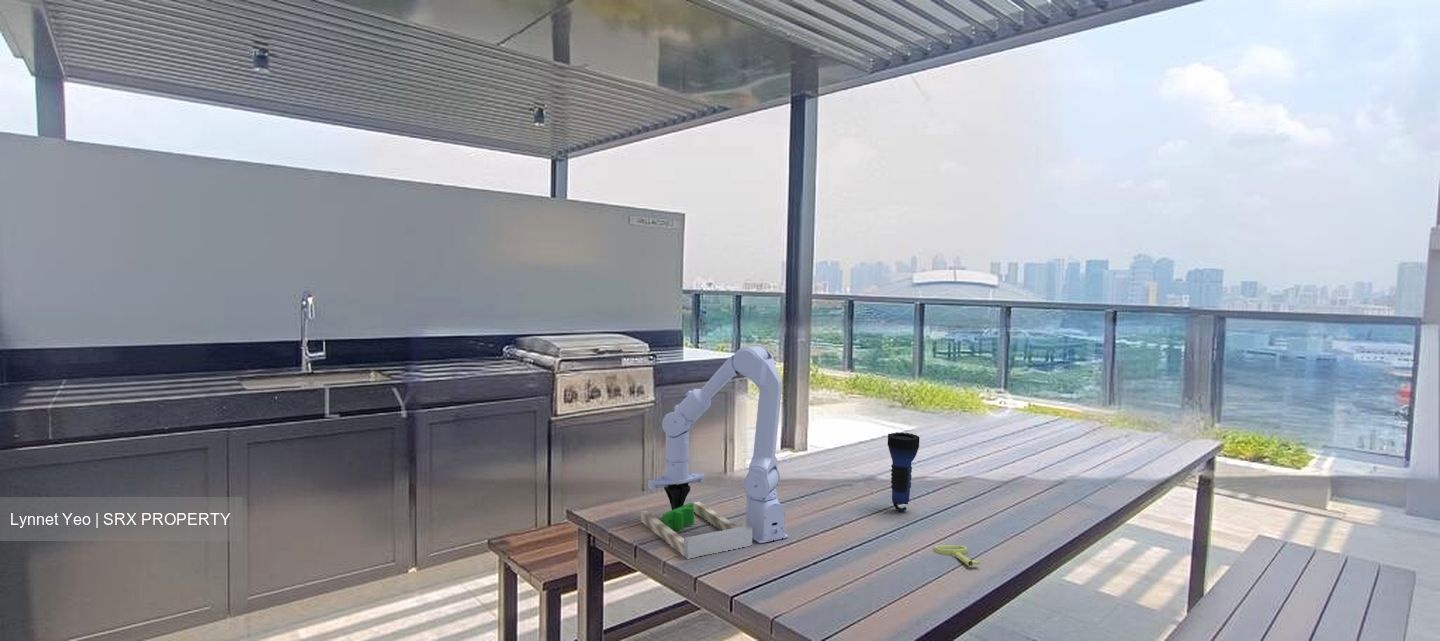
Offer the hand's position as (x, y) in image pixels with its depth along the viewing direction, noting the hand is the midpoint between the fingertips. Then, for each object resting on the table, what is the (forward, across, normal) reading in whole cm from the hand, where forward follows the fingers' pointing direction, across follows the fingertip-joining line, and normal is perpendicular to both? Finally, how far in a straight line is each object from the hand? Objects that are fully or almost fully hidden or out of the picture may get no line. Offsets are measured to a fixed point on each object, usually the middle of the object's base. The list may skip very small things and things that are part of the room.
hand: (676, 514), depth 159 cm
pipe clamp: (+2, +1, +4) cm, 5 cm away
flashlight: (+2, -55, +21) cm, 59 cm away
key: (+2, -44, +48) cm, 65 cm away
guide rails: (+2, 0, +8) cm, 9 cm away
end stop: (+2, 0, +21) cm, 21 cm away
